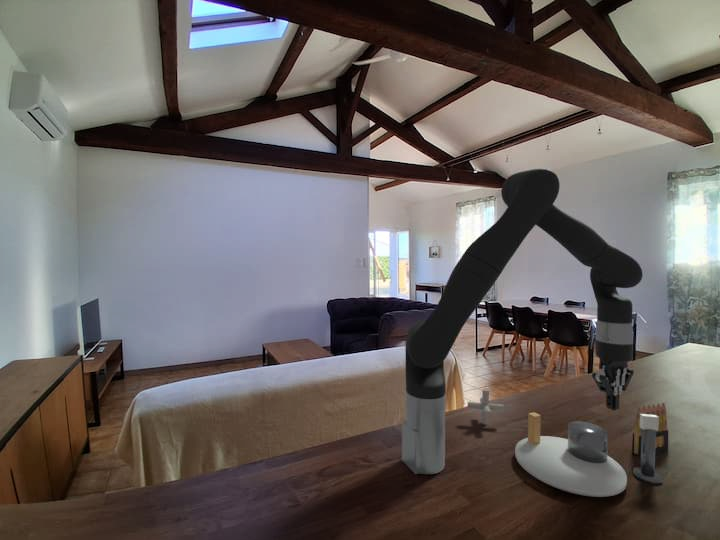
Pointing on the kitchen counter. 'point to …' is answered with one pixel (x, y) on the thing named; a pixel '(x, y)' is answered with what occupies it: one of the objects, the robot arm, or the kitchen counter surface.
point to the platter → (566, 465)
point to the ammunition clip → (660, 434)
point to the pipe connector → (485, 406)
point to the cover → (588, 442)
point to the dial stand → (648, 450)
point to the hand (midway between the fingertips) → (612, 408)
